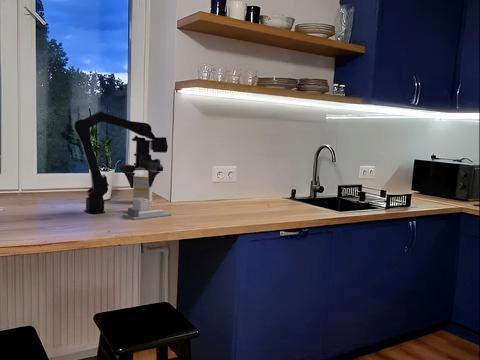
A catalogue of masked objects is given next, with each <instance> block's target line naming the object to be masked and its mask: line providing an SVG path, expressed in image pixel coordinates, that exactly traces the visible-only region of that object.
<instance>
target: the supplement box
mask: <svg viewBox="0 0 480 360" xmlns="http://www.w3.org/2000/svg"><path fill="white" fill-rule="evenodd" d="M132 189H133V192H132V193H133V194H132V197H133V198H137V197H139V198H144V199H147V200H149V204H151V203H152V202H153V185H152V186H151V187H149V181H148V175H144V174H136V175H134V184H133V188H132ZM133 198H132V199H133Z"/></svg>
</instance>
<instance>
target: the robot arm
mask: <svg viewBox="0 0 480 360" xmlns="http://www.w3.org/2000/svg"><path fill="white" fill-rule="evenodd" d="M99 123H106V124H110V125H113V126H115V127H119V128H123V129H127V130H128V131H131V132H132V133H134V134H136V135H134V137H132V139H131V142H132V141H133V142H135V143H136V144H135V153H133V156H134V157H135V162H133V164H129V163H128V164H127V163H126V164H123V163H122V164H121V165H120V166H119V172H122V173H123V174H124V175H125V177H126V179H127V181H128V184H129V186H130V188H131V189H133V186H134V176H135V174H136V172H135V171H147V176H148V181H149V187H151V186H152V187H153V183H154V181H155V178H156V177H157V175H158V174H160V173H161V172H163V171H164V166H163V165H162V164H161V159H159V158H155V159H152V154H150V152H151V151H152V152H153V153H163V154H164V153H165V154H166V153H167V152H168V147H169V145H168V140H167V137H165V136H160V137H158V136H155V135H154V133H153V131H152V130H153V129H152V125H150V124H149V123H146V122H139V121H133V120H128V119H125V118H121V117H118V116H115V115H111V114H108V113H105V112H104V111H97V112H95V113H94V114H91V115H90V116H88V117H86V118H84V119H82V118H80V119H76V120H75V121H74V122H73V124H72V125H73V129H74V131H75V133H76V136H77V137H78V140H80V143H81V146H82V150H83V153H84V156H85V158H86V159H85V160H86V163H87V165H88V169H89V172H90V178H91V187H90V188H89V189H88V190H87V191H86V194H87V197H86V198H85V209H84V210H83V212H85V213H88V214H90V215H95V214H103V213H106V211H105V200H104V195H106V194H107V193H108V191H109V187H110V184H109V183H108V178H107V176H106V174H103V175H102V173H101V171H100V167H99V163H98V160H97V157H96V153H95V151H94V146H93V145H92V144H93V143H92V139H91V128H92V127H94V126H96V125H97V124H99ZM147 139H149V140H147Z"/></svg>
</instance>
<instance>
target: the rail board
mask: <svg viewBox="0 0 480 360" xmlns="http://www.w3.org/2000/svg"><path fill="white" fill-rule="evenodd" d="M122 216H123V217H125V218H128V219H131V220H133V221H138V220H145V219H153V218H161V217H171V216H172V213H169V212H166V211H165V210H162V209H155V210H154V209H152V210H148V211H143V212H139V210H138V209H135V208H133V206H132V207H128V208H127V213H123V214H122Z"/></svg>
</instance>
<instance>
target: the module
mask: <svg viewBox="0 0 480 360" xmlns="http://www.w3.org/2000/svg"><path fill="white" fill-rule="evenodd" d="M149 204H150V203H149V200H147V199H144V198H139V197H137V198H132V208H135V209H138V210H139V212H143V211H149Z"/></svg>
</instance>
